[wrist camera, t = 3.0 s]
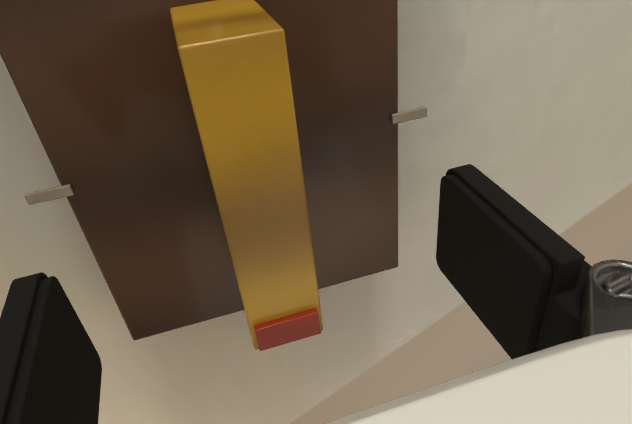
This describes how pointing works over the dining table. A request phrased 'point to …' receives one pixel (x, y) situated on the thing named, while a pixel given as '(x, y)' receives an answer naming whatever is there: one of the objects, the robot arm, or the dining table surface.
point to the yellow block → (253, 161)
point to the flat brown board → (186, 147)
